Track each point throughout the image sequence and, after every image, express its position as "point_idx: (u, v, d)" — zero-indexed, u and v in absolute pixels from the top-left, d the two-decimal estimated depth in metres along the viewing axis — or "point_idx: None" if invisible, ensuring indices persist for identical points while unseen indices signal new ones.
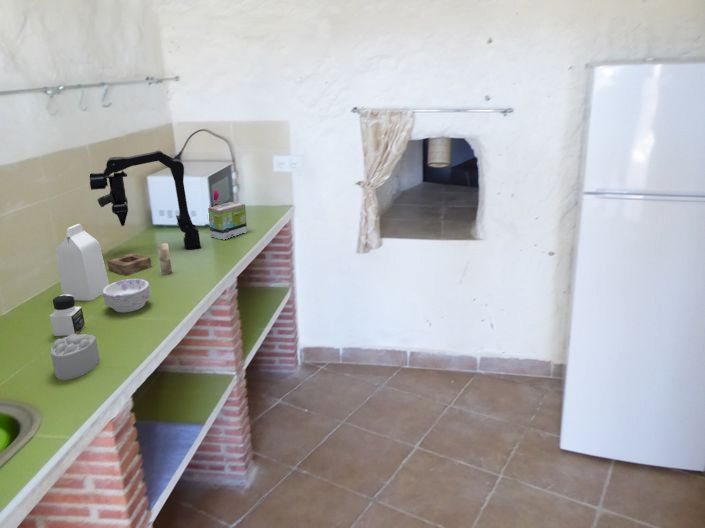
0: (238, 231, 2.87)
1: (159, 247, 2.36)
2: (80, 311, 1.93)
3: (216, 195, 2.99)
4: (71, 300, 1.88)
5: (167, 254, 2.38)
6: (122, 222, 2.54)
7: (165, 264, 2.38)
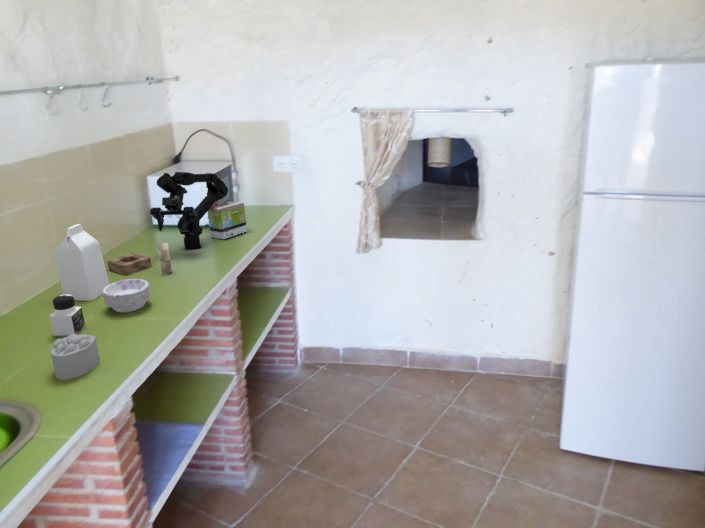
0: (237, 230, 2.87)
1: (159, 247, 2.36)
2: (80, 311, 1.93)
3: None
4: (71, 300, 1.88)
5: (167, 254, 2.38)
6: (183, 226, 2.53)
7: (165, 264, 2.38)
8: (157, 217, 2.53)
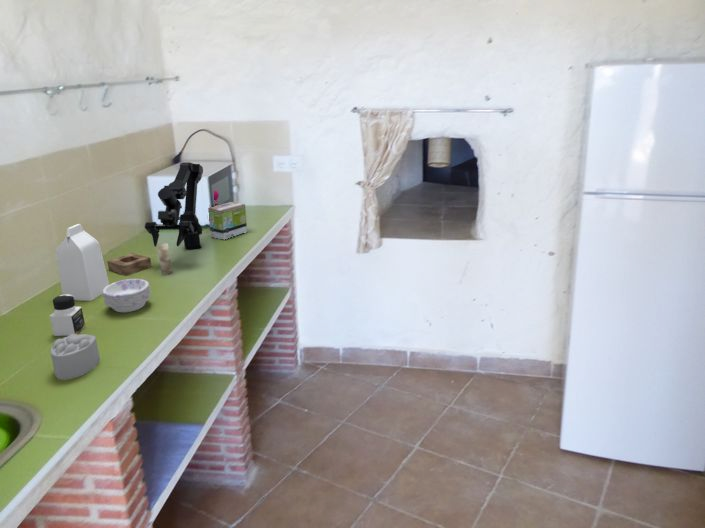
0: (238, 231, 2.87)
1: (159, 247, 2.36)
2: (80, 311, 1.93)
3: (216, 195, 2.99)
4: (71, 300, 1.88)
5: (167, 254, 2.38)
6: (180, 242, 2.42)
7: (165, 264, 2.38)
8: (152, 232, 2.42)
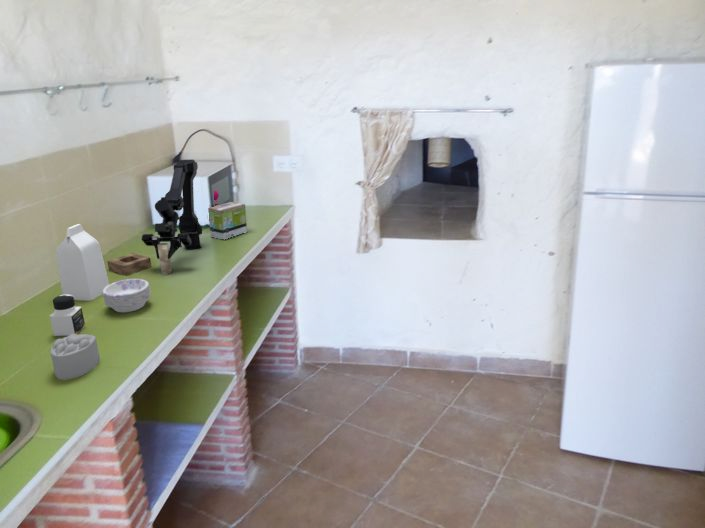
0: (238, 231, 2.87)
1: (159, 247, 2.36)
2: (80, 311, 1.93)
3: (216, 195, 2.99)
4: (71, 300, 1.88)
5: (167, 254, 2.38)
6: (171, 254, 2.39)
7: (165, 264, 2.38)
8: (155, 244, 2.39)
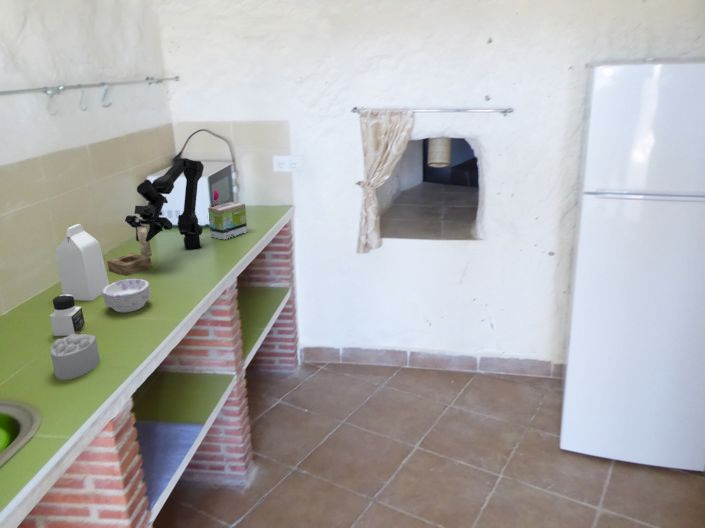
0: (238, 231, 2.87)
1: (137, 229, 2.36)
2: (80, 311, 1.93)
3: (216, 195, 2.99)
4: (71, 300, 1.88)
5: (145, 237, 2.37)
6: (150, 237, 2.38)
7: (144, 247, 2.38)
8: (136, 226, 2.39)
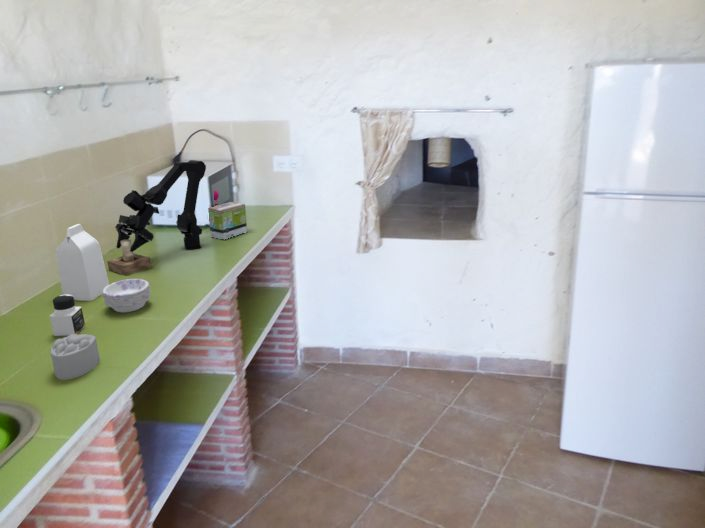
0: (238, 231, 2.87)
1: None
2: (80, 311, 1.93)
3: (216, 195, 2.99)
4: (71, 300, 1.88)
5: (127, 251, 2.44)
6: (134, 248, 2.42)
7: (126, 260, 2.45)
8: (119, 233, 2.48)
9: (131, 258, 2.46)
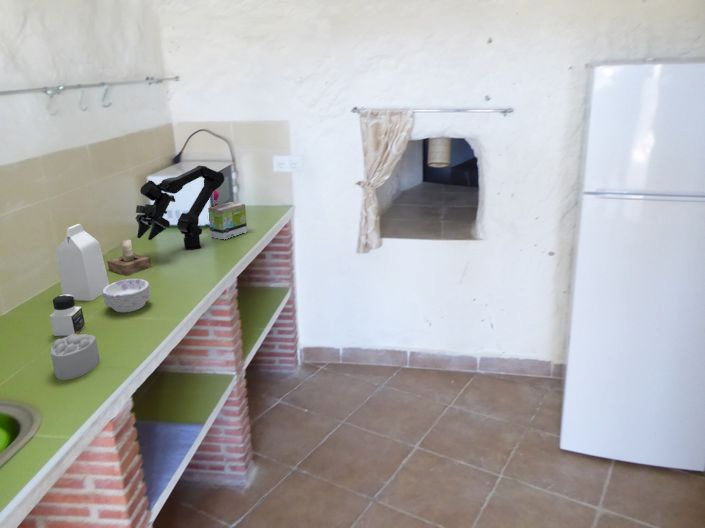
0: (238, 231, 2.87)
1: (121, 243, 2.43)
2: (80, 311, 1.93)
3: (216, 195, 2.99)
4: (71, 300, 1.88)
5: (127, 251, 2.44)
6: (152, 236, 2.48)
7: (126, 260, 2.45)
8: (139, 224, 2.55)
9: (131, 258, 2.46)
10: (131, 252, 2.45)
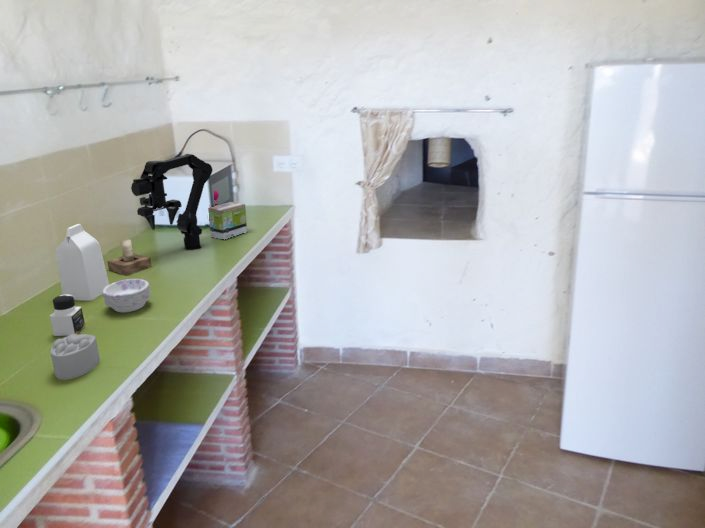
0: (238, 231, 2.87)
1: None
2: (80, 311, 1.93)
3: (216, 195, 2.99)
4: (71, 300, 1.88)
5: (127, 251, 2.44)
6: (151, 226, 2.53)
7: (126, 260, 2.45)
8: None
9: (131, 258, 2.46)
10: (131, 252, 2.45)
